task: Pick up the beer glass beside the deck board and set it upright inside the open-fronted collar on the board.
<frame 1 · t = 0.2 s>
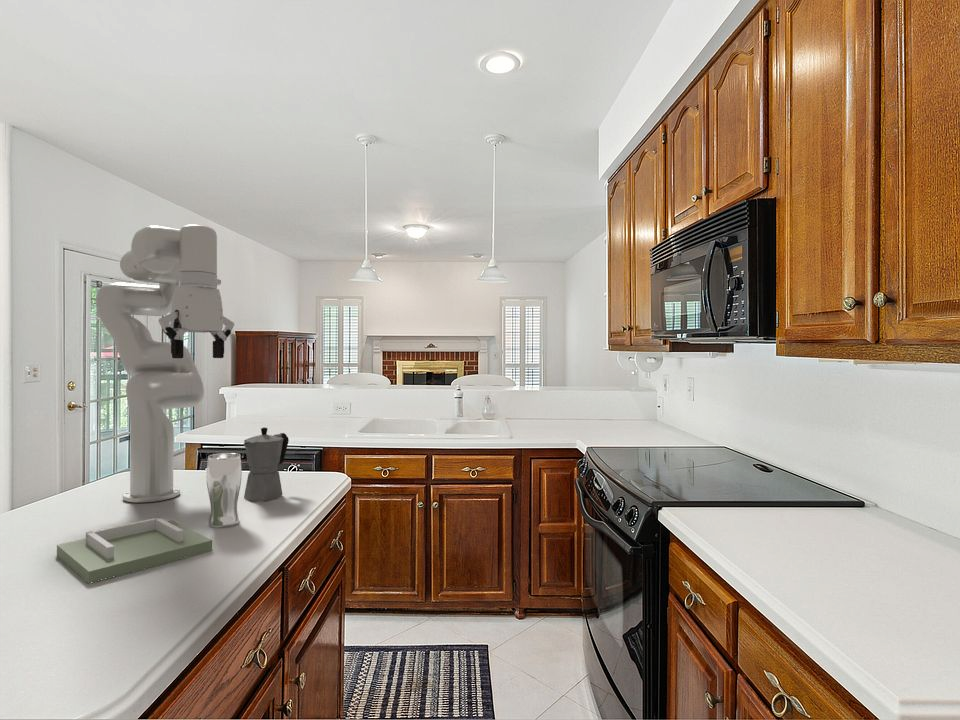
hand: (198, 358, 125), 36 cm above the countertop, tool pointing down, fingers open, 9 cm apart
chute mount: (136, 553, 104), on the countertop
beer glass: (223, 524, 122), on the countertop
coffeepot: (266, 496, 145), on the countertop
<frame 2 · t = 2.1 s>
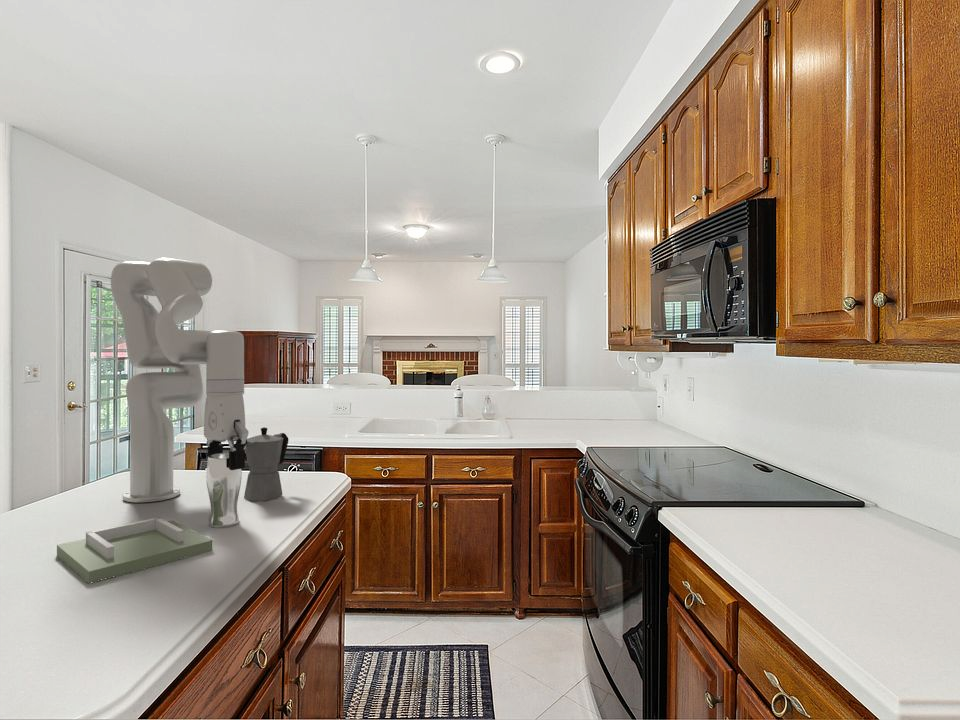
hand: (225, 466, 121), 13 cm above the countertop, tool pointing down, fingers open, 9 cm apart
nothing on the countertop moved.
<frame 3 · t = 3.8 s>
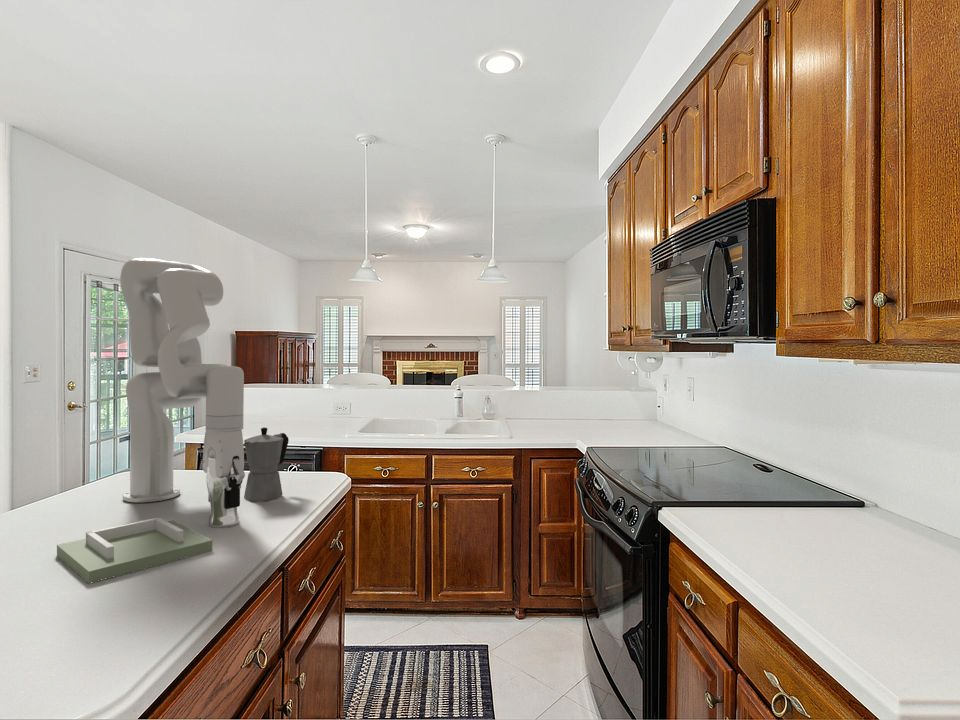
hand: (224, 503, 122), 4 cm above the countertop, tool pointing down, fingers closed on beer glass, 6 cm apart
beer glass: (223, 524, 122), on the countertop, touching gripper
everything else where it was.
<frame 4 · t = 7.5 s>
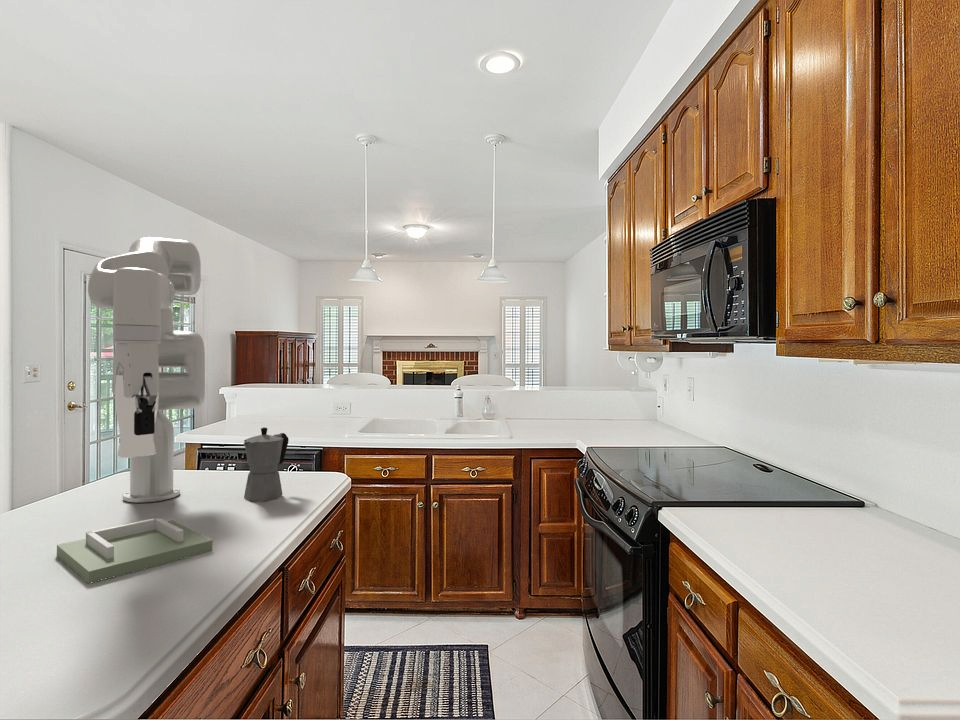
hand: (136, 431, 104), 23 cm above the countertop, tool pointing down, fingers closed on beer glass, 6 cm apart
beer glass: (137, 456, 104), point 18 cm above the countertop, touching gripper
everything else where it was.
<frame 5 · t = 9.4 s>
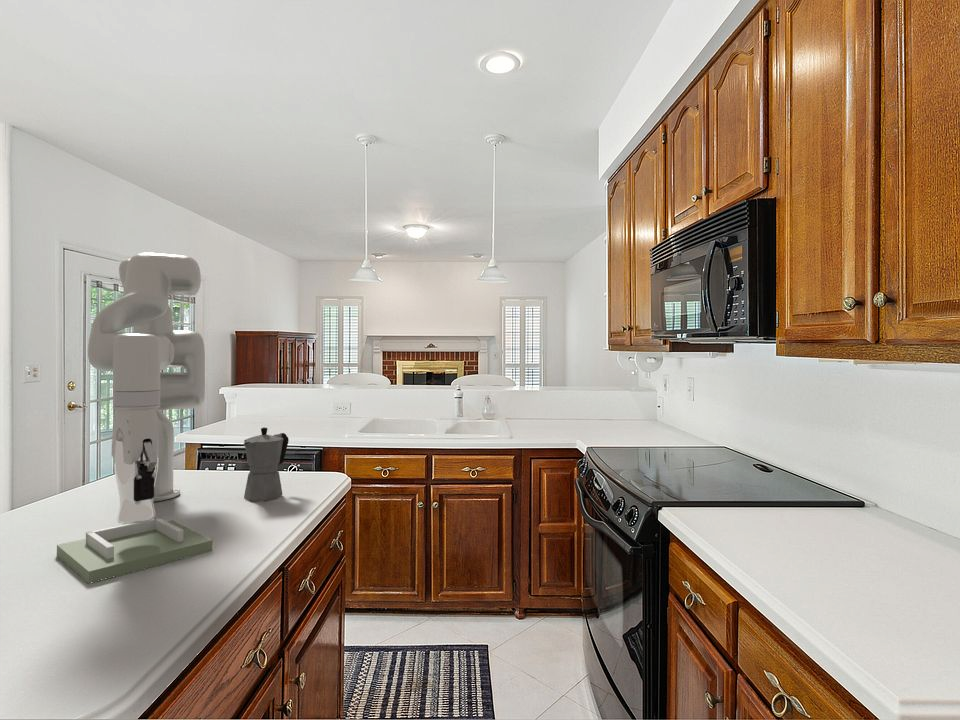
hand: (136, 495, 104), 11 cm above the countertop, tool pointing down, fingers closed on beer glass, 6 cm apart
beer glass: (136, 519, 104), point 6 cm above the countertop, touching gripper
everything else where it was.
when the fingers open (8 cm above the countertop, at t = 11.0 s): beer glass drops 1 cm, resting on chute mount.
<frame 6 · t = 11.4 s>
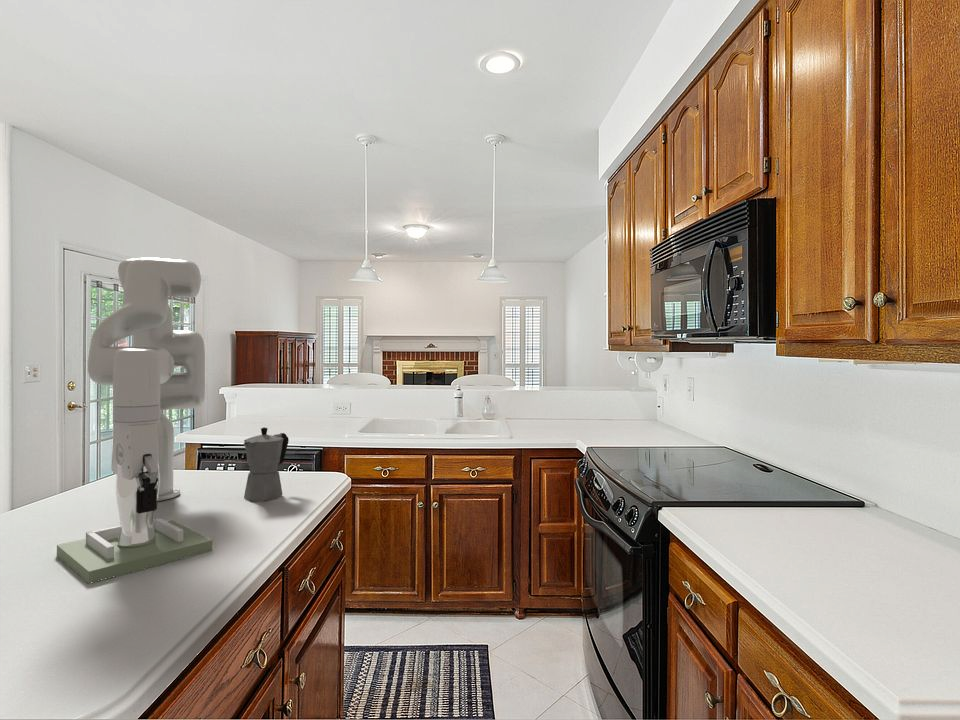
hand: (136, 506, 104), 9 cm above the countertop, tool pointing down, fingers open, 9 cm apart
beer glass: (136, 542, 104), point 2 cm above the countertop, touching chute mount
everything else where it was.
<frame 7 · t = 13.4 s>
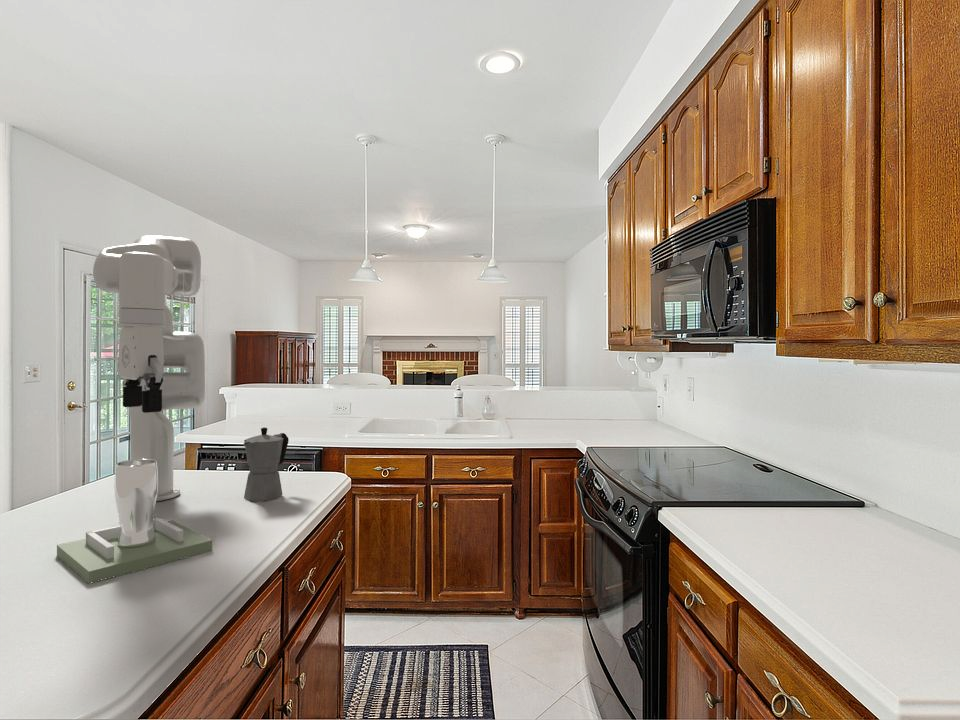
hand: (141, 409, 106), 27 cm above the countertop, tool pointing down, fingers open, 9 cm apart
nothing on the countertop moved.
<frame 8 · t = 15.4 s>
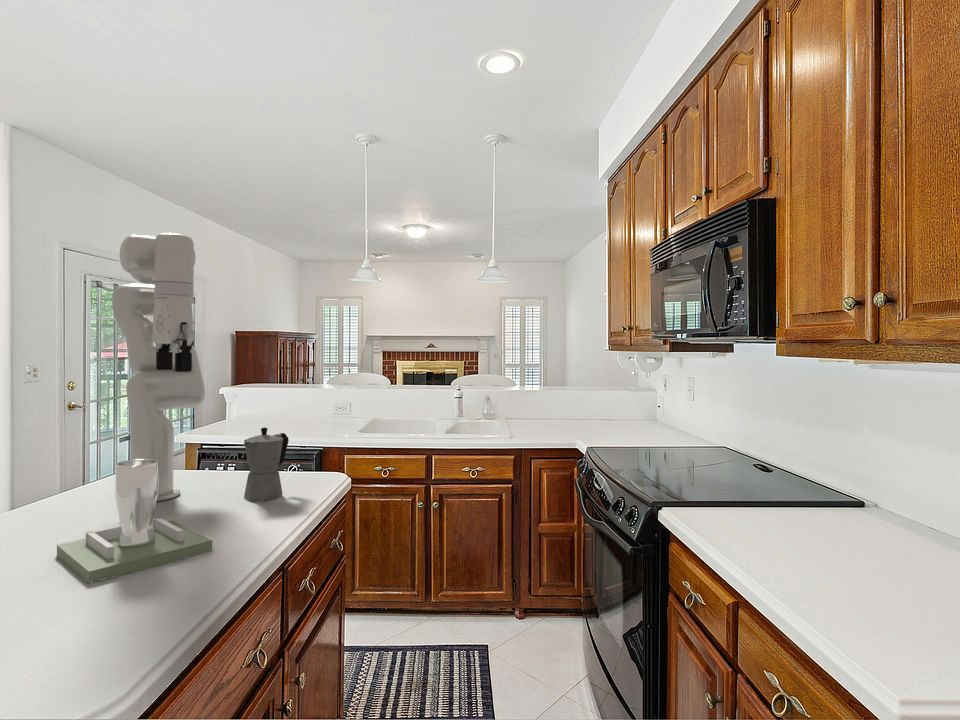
hand: (173, 370, 122), 33 cm above the countertop, tool pointing down, fingers open, 9 cm apart
nothing on the countertop moved.
at the end: beer glass 0.2 cm off-centre on the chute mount, point 1.8 cm above the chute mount's base; beer glass tilted 0°; the gripper is holding nothing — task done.
